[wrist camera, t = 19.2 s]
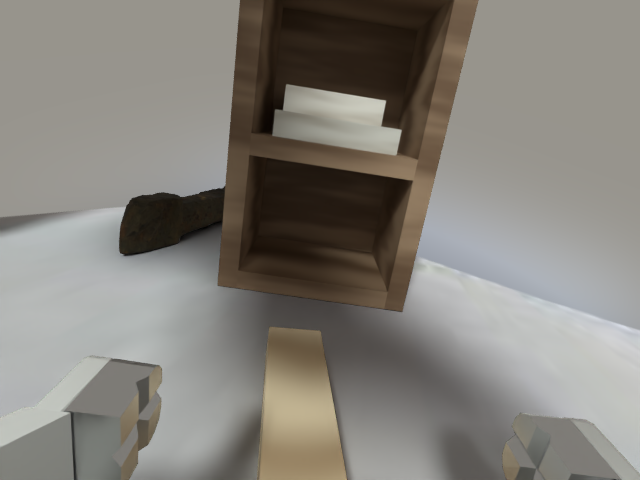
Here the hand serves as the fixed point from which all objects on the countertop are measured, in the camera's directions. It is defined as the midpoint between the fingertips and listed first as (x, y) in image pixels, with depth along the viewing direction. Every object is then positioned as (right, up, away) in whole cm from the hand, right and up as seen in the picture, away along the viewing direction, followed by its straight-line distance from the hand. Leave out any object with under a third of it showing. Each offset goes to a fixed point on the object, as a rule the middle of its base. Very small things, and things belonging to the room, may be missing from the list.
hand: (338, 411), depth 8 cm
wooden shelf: (-1, +1, +29) cm, 29 cm away
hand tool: (-15, +5, +36) cm, 39 cm away
